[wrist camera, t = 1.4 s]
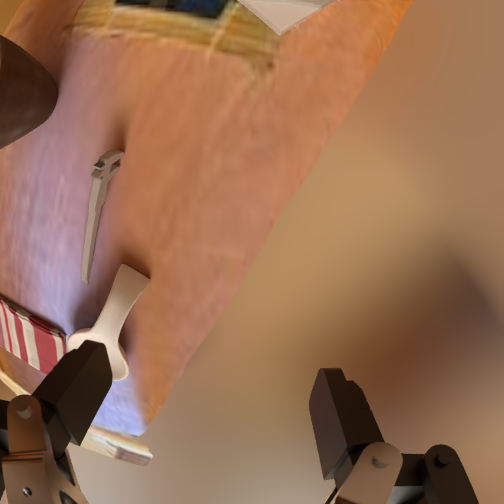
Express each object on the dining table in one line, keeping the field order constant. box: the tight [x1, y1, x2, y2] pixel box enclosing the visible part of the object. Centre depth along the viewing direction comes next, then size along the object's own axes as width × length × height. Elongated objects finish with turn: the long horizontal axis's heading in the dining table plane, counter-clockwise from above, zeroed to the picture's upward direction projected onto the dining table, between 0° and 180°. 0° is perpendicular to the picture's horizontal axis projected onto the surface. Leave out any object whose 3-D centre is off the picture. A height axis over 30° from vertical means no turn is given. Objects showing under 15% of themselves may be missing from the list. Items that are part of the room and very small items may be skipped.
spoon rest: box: [67, 264, 150, 381], centre depth 36 cm, size 24×12×7 cm, turn 146°
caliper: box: [81, 150, 124, 285], centre depth 30 cm, size 20×1×6 cm, turn 153°
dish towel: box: [0, 296, 69, 375], centre depth 39 cm, size 17×23×3 cm
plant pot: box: [0, 35, 58, 149], centre depth 17 cm, size 15×15×16 cm
